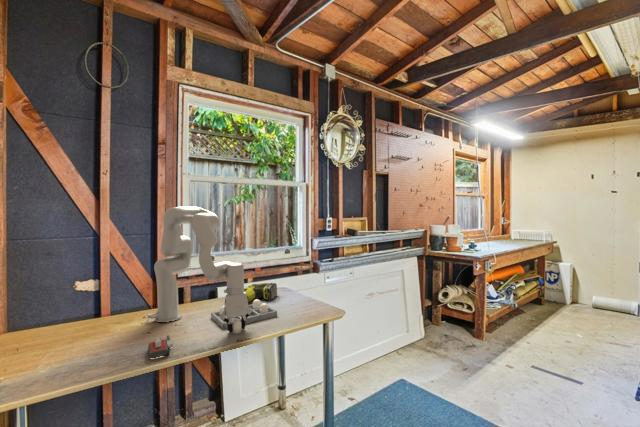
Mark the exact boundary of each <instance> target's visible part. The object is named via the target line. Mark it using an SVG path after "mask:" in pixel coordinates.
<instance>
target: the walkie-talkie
mask: <svg viewBox="0 0 640 427" xmlns="http://www.w3.org/2000/svg"><path fill="white" fill-rule="evenodd" d="M173 344H174V342H173V339H171V337H170V335H169V334H168V335H166V339H161V338H156V339H154V341H151V342H149V343H148V346H147V348H148V349H147V350H148V354H149V355H148V357H149V358H156V357H160V356H167V357H169V356H170V354H171V352H170V351H171V350H170V348H171V347H173V346H174V345H173ZM173 348H174V347H173Z"/></svg>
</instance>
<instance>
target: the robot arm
mask: <svg viewBox="0 0 640 427" xmlns="http://www.w3.org/2000/svg"><path fill="white" fill-rule="evenodd" d="M185 224H187V225H188V224H190V226H191V228H192V230H193V233H194V235H195V237H196V239H197V241H198V243H199V245H200V248H199V253H198V263H199V266H200V269H201V271H202V273H203V276H204V277H205V278H206V279H207V280H209V281H210V282H216V281H219V280H222V279H223V280H224V279H226V289H223V293H224V294H225V295H224V296H225V298H224V302H223V303H224V304H223V306H224V311H223V313H222V314H221V316H220V318H221V319H222V320H224V321H225V322H227V327H228V328H227V331H228V332H229V333H231V334H233V333H232V324H231V321H232V318H234V317H239V316H241V318H242V319H241V324H242V330H243V331H245V329H246V324H245V321H246V319H247V317H248V316H249V315H250V313H251V312H252V310H251V309H250V308H249V307H248V305H249V302H248V300H247V294H246V292H244V288H245V273H244V272H245V270H244V269H245V268H244V265H243V263H241V262H231V261H230V260H229V261H227V260H226V261H225V260H224V261H221V262H216V263H215V262H214V261H213V258H212V256H211V252H212V248H213V247H214V246H216V245H217V244H218V243H219V238H218V236H217V234H216V231H215V230H216V229H217V228H218V227H219V226H220V218H219V216H218V215H217V214H216V213H214V212H212V211H210V210H207V209H205V208H202V207H199V206H173V207H170V208H167V210H166V211H165V212H164V214H163V231H162V238H161V243H160V252H161V254H162V255H163V256H167V257H162V258H159V259H158V260H156V262H155V263H154V264H153V270H154V274H155V278H156V288H157V289H156V290H157V293H156V294H157V310H155V311H156V312H154V313H149V314H147V315H146V318H147V319H151V320H152V319H154V322H155V321H157V322H167V323H170V322H169V321H173V322H175V320H176V321H178V320H180V319H182V317H183V315H182V313H180V312H179V284H178V281H177V279H176V278H175V276H174V275H178V274H181V273H185V272H186V271H188V269H189V267H190V264H191V259H192V258H191V257H192V252H193V242H192V240H191V238H190V237H189V236H187V235H182V232H183V229H182V225H185ZM224 316H227V319H226V318H225V317H224ZM157 322H156V323H157Z"/></svg>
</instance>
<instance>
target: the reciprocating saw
mask: <svg viewBox="0 0 640 427" xmlns="http://www.w3.org/2000/svg"><path fill="white" fill-rule="evenodd" d="M277 286H278V285H277V283H274V282H270V283H269V282H268V283H266V282H265V283H252V284H251V285H248V286H244V292H246V294H247V300H248V303H249V302H251V301H254V300H256V299H262V298H263V299H264V300H266V301H272V300H273V299H274V298H275V297H276V296H277V295H278V287H277Z"/></svg>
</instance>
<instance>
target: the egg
mask: <svg viewBox="0 0 640 427" xmlns="http://www.w3.org/2000/svg"><path fill="white" fill-rule="evenodd" d="M242 330H243V329H242V324H241V320H240V319H234V320H233V321H232V333H231V334H240V333H241V332H242Z"/></svg>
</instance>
